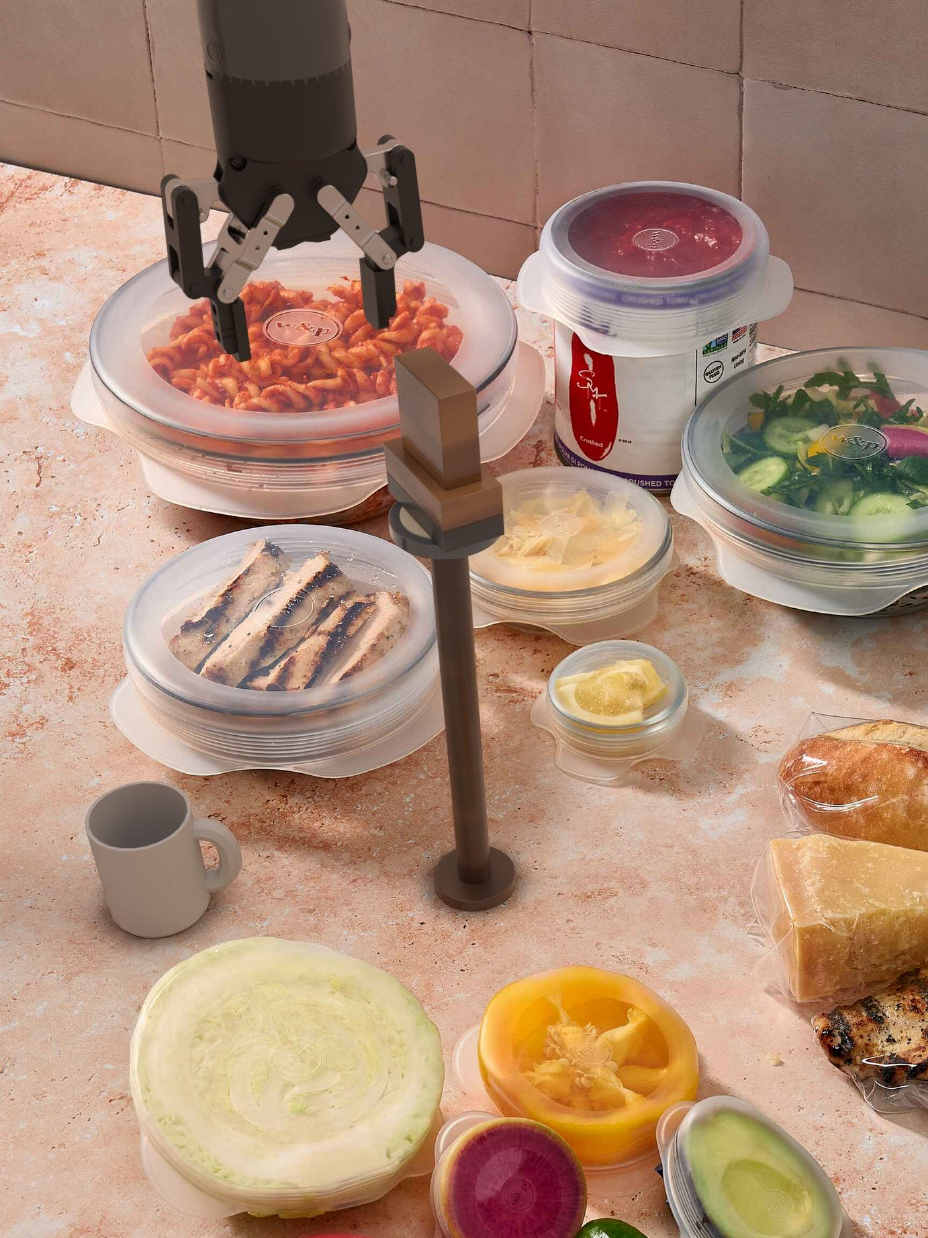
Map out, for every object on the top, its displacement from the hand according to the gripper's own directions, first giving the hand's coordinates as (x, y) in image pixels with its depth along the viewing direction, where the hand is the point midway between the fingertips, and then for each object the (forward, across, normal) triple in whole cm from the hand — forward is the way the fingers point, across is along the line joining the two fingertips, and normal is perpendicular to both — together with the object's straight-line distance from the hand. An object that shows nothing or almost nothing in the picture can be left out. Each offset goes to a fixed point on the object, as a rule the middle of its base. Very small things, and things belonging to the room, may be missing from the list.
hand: (309, 339), depth 97 cm
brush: (+10, -5, +6) cm, 13 cm away
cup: (+43, +14, -3) cm, 45 cm away
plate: (+11, -5, +6) cm, 14 cm away
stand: (+42, -6, +6) cm, 43 cm away
